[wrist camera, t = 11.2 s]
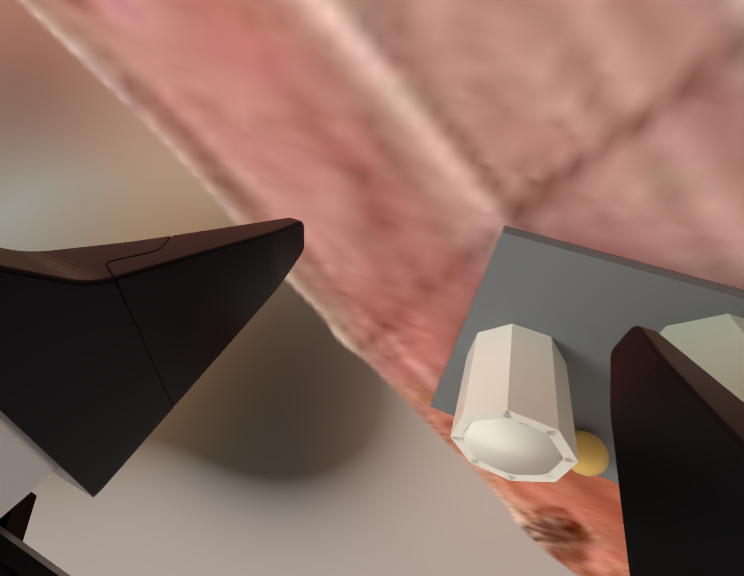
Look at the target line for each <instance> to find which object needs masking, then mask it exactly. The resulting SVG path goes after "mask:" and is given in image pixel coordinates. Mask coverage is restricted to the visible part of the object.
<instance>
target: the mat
mask: <svg viewBox="0 0 744 576" xmlns="http://www.w3.org/2000/svg"><path fill="white" fill-rule="evenodd" d="M723 314H731V315H735V316H738V317H742V318H744V290H740V289H737V288H733V287H729V286H726V285H722V284H718V283H714V282H711V281H707V280H703V279H700V278H696V277H692V276H689V275H685V274H681V273H677V272H674V271H670V270H666V269H663V268H659V267H655V266H652V265H648V264H644V263H640V262H637V261H633V260H629V259H626V258H622V257H618V256H615V255H611V254H607V253H603V252H600V251H596V250H592V249H589V248H585V247H581V246H578V245H574V244H570V243H566V242H563V241H559V240H555V239H552V238H548V237H544V236H541V235H537V234H533V233H530V232H526V231H522V230H518V229H515V228H511V227H507V226H504V228H503V230H502V233H501V235H500V238H499V240H498V242H497V245H496V247H495V250H494V252H493V254H492V257H491V259H490V262H489V264H488V266H487V269H486V271H485V274H484V276H483V279H482V281H481V283H480V286H479V288H478V291H477V293H476V295H475V298H474V300H473V303H472V305H471V307H470V310H469V312H468V315H467V317H466V320H465V322H464V324H463V327H462V329H461V332H460V334H459V336H458V339H457V341H456V344H455V346H454V348H453V351H452V353H451V356H450V358H449V361H448V363H447V365H446V368H445V370H444V373H443V375H442V377H441V380H440V382H439V385H438V387H437V389H436V392H435V394H434V397H433V400H432V403H431V407H434V408H436V409H438V410H441V411H443V412H446V413H448V414H451V415H453V416H455V412H456V407H457V402H458V398H459V393H460V388H461V383H462V378H463V373H464V368H465V363H466V359H467V355H468V353H469V350H470V348H471V346H472V344H473V342H474V340H475V338H476V335H477V333H478V332H482V331H486V330H490V329H494V328H497V327H501V326H505V325H509V324H515V325H518V326H521V327H524V328H527V329H530V330H533V331H536V332H539V333H542V334H545V335H548V336H551V337H552V339H553V341H554V343H555V344H556V346H557V348H558V350H559V352H560V353H561V355H562V357H563V359H564V361H565V362H566V365H567V374H568V382H569V390H570V398H571V406H572V414H573V422H574V430H583V431H587V432H590V433H592V434H593V435H595V436H597V437H598V438H599V439H600V440H601V441H602V442H603V443H604V445H605V447H606V449H607V451H608V454H609V463H608V466H607V468H606V470H605V471H604V472H603V473H601V474H599V475H598V476H601V477H603V478H606V479H608V480H611V481H613V482H615V483H618V484H619V482H618V474H617V466H616V458H615V449H614V441H613V433H612V425H611V416H610V356H611V352H612V350H613V348H614V347H615V346H616V344H617V343H618V342H619V341H620V340H621V339H622V337H623V336H624V335H625V334H626V333H627V332H628V331H629V330H630V329H631V328H632V327H634V326H642V327H645V328H648V329H651V330H654V331H657V332H658V333H660V332H661V331H662V330H663V329H664V328H665V327H666V326H669V325H674V324H679V323H684V322H689V321H694V320H699V319H704V318H709V317H714V316H719V315H723Z"/></svg>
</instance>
